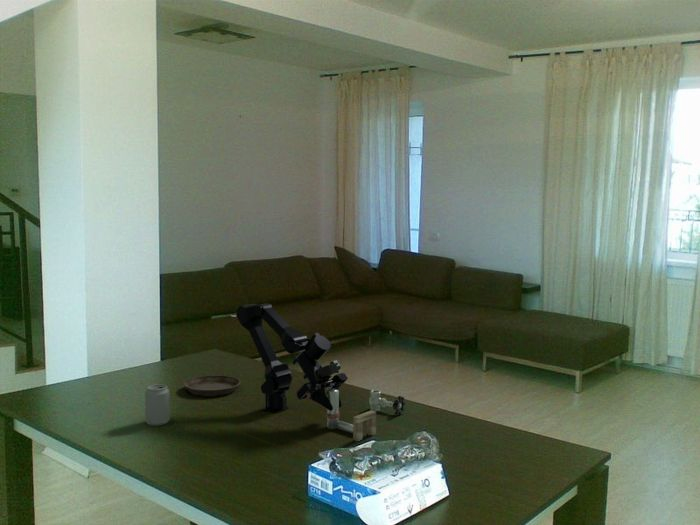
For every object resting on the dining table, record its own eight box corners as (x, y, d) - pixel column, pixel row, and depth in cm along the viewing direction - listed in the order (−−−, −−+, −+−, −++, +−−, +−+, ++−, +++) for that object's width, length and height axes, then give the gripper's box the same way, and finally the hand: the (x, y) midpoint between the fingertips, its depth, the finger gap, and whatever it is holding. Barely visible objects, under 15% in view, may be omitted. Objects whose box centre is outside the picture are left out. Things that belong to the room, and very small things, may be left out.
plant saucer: (213, 379, 267) (213, 371, 266) (251, 388, 255) (251, 380, 254) (172, 392, 250) (172, 383, 250) (210, 402, 238) (210, 393, 238)
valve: (365, 411, 229) (396, 418, 223) (365, 392, 228) (396, 399, 222) (374, 406, 235) (405, 412, 228) (375, 388, 234) (405, 394, 228)
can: (174, 421, 218) (174, 384, 217) (159, 428, 211) (158, 391, 210) (156, 417, 221) (155, 381, 220) (140, 424, 214) (139, 387, 213)
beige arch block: (353, 441, 202) (353, 417, 201) (370, 433, 208) (371, 410, 207) (358, 442, 201) (358, 418, 200) (376, 435, 207) (376, 411, 206)
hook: (323, 427, 213) (323, 390, 212) (332, 423, 216) (332, 387, 215) (357, 438, 203) (357, 399, 202) (366, 434, 207) (366, 396, 206)
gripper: (303, 358, 206) (329, 401, 200) (343, 348, 220) (369, 388, 214) (285, 379, 212) (310, 421, 206) (326, 367, 226) (350, 406, 220)
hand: (336, 408), depth 211 cm, fingers closed on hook, 4 cm apart
